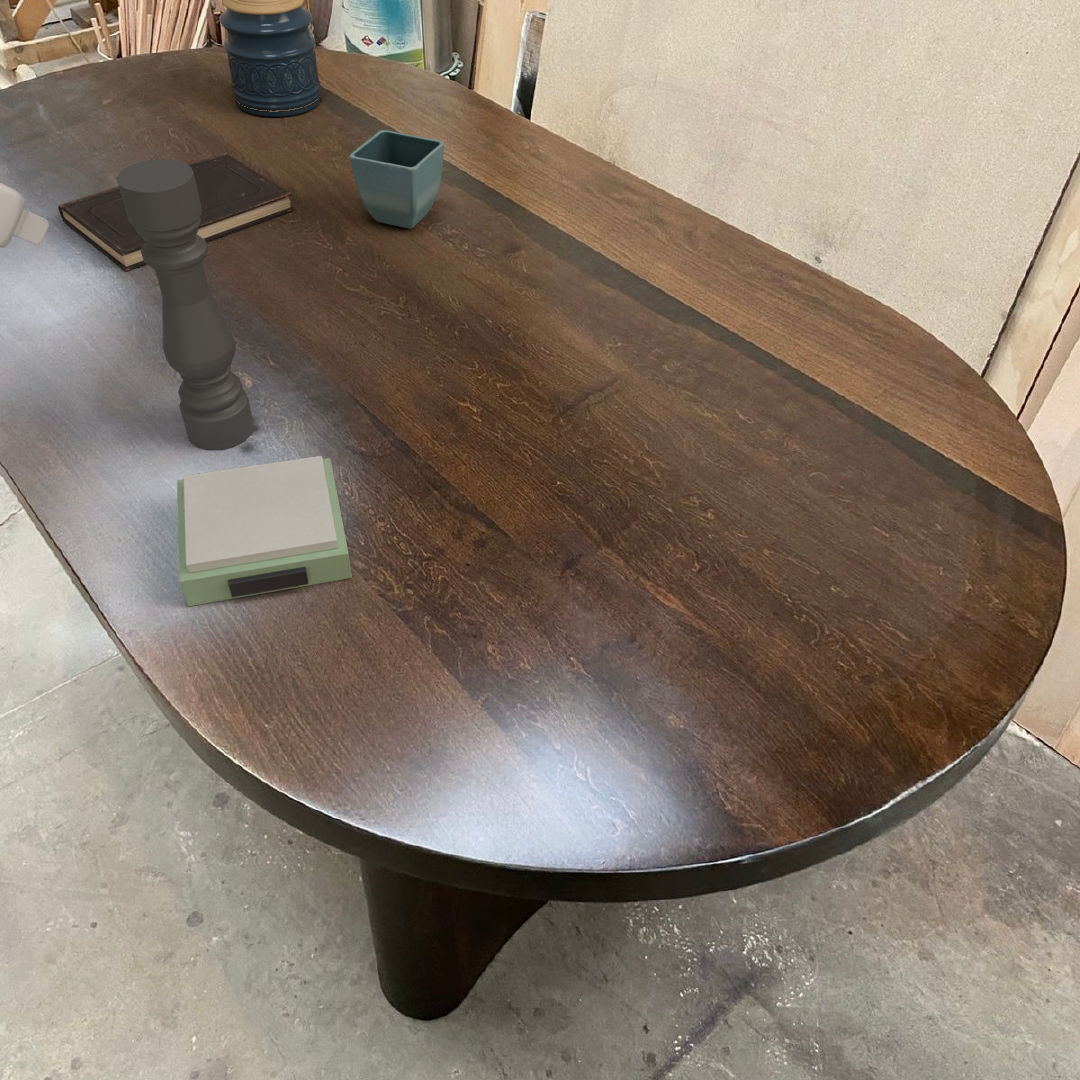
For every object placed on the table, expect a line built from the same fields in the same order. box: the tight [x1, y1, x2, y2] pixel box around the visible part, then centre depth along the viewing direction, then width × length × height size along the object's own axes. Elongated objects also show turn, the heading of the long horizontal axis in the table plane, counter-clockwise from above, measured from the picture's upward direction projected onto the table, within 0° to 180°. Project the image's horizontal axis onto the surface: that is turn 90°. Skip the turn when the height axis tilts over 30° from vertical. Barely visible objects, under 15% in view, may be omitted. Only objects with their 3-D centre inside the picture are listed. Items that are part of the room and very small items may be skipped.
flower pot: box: [349, 129, 445, 230], centre depth 119 cm, size 9×9×9 cm
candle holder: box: [116, 158, 255, 451], centre depth 83 cm, size 6×6×25 cm
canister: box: [219, 0, 322, 118], centre depth 140 cm, size 13×13×18 cm
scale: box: [176, 455, 353, 607], centre depth 80 cm, size 13×12×4 cm
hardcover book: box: [57, 152, 295, 272], centre depth 120 cm, size 16×23×2 cm
